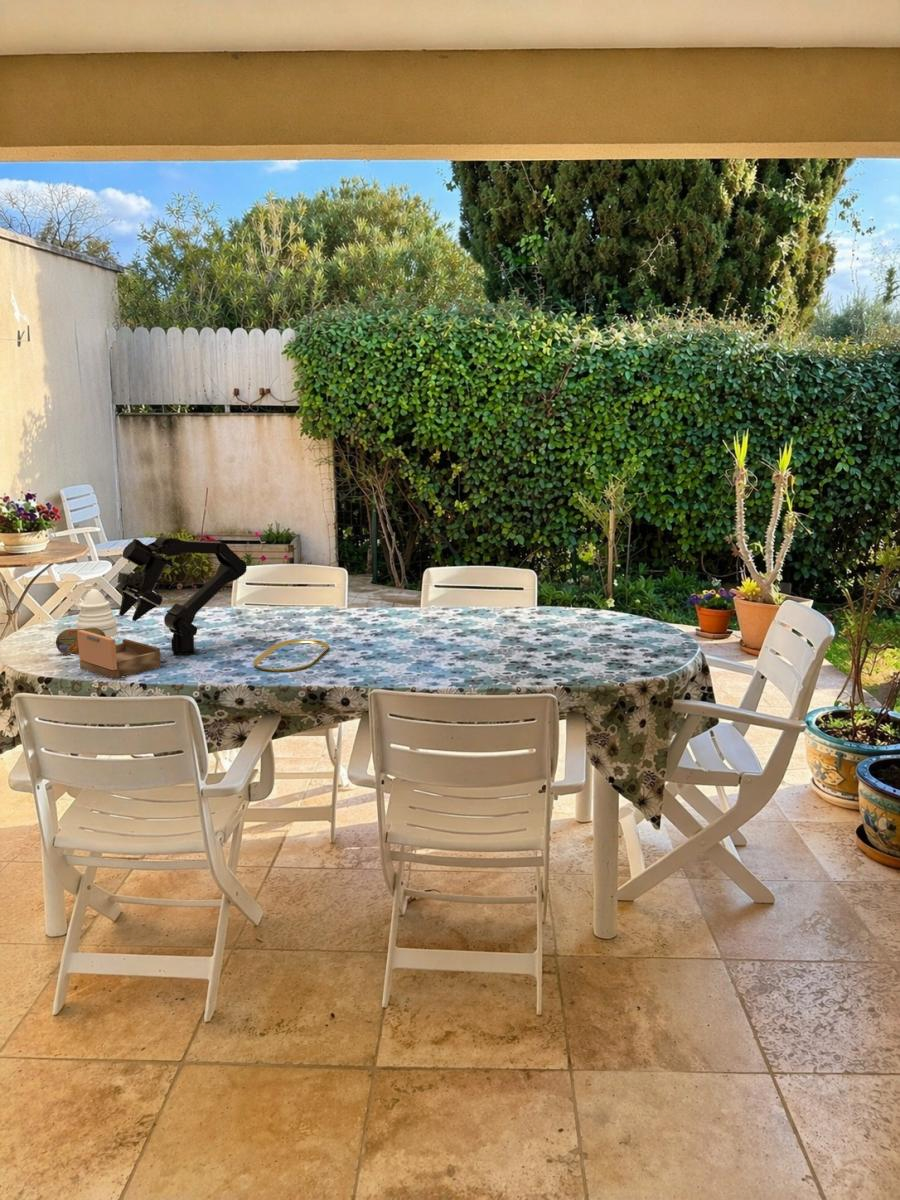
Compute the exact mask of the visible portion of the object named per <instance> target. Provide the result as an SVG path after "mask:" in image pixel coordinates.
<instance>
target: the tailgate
mask: <svg viewBox="0 0 900 1200" xmlns="http://www.w3.org/2000/svg"><path fill="white" fill-rule="evenodd" d="M77 636H78V648H79V655H78V657H79V661H80V660H82V661H85V662H88V663H92V664H95V665H98V666H101V667H104V668H107V669H110V670H116V669H117V658H116V645H115V644H116V639H115V638H109V637H105V636H102V635H98V634H95V633H91V632H88V631H84V630H78V631H77Z"/></svg>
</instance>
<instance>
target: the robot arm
mask: <svg viewBox="0 0 900 1200" xmlns="http://www.w3.org/2000/svg"><path fill="white" fill-rule="evenodd" d="M153 553H154V554H157V555H154V554H153ZM184 554H211V555H212V554H213V555H215V557H216V559H217V561H218V562H219V566H218V567H217V570H216V572H215V575H214V576H212V577H211V578H210V579H209V580H208V581H207V582H206V583H205V584H204V585H203V586H202V587H200V589H199V590H197V591H196V592H195V594H193V595H192V596H191V597H190V598H189V599H188V600H187V601H186V602H185V603H183V604H179V603H177V602H176V603H174V604H173V605H172V606H171V608H170V609H168V610H166V614H165V615H164V616H163V617H164V618H163V623H164V625H165V626H166V627H167V628H168V629H169V632H170V633H172V638H171V640H170V641H171V652H172V653H173V655H174V656H178V655H194V654H195V651H196V647H195V646H196V645H195V636H196V635H197V633H198V627H196V625H194V624H192V623H194V621H195V617H196V614H197V613H198V612H199V611H200V610H201V609H202V608H203V607H205V605H207V604H208V603H209V601H211V600H212V599H213V598H214V597H215V596H216V595H217V594H218V592H220V591H221V590H222V589H223V588H224V587H225V586H226V585H227V584H229V583H232V582H234V581H236V580H238V579H239V578H240V577H242V576H243V575H245V574H246V573H247V568H248V567H247V563H246V561H245V560H244V559H242V558H240V557H239V556H238V555H237V553H235V552H234V551H233V550H231V548H230V547H229V546H228V544H227V543H225V542H223V541H222V542H221V541H219V540H218V541H217V540H215V541H206V540H205V541H201V540H200V541H199V540H182V539H178V538H175V537H169V536H165V535H161V536H158V537H157V538H156V539H154V541H153V542H150V543H148V544H145V543H143V542H142V541H141V540H139V539H137V538H133V539H132V541H131V542H130V543H129V544H127V545H126V546H125V547H124V549H123V551H122V558H123V559H125V560H127V561H129V562H130V563H132V564H134V565H137V566H138V567H142V566H143V568H142V570H138V571H137V572H130V573H127V572H118V577H117V583H118V584H119V583H120V584H119V586H118V590H119V593H120V596H121V601H120V602H121V603H120V608H119V612H118V615H119V616H121V617H123V616H124V615H125V614H126V613H127V612H128V611H129V610H131V608H133V606H134V605H135V604H136V603H137V602H138V603H137V606H136V608H135V611H134V613H133V616H132V619H131V620H132V621H133V622H136V621H138V620H139V619H140V618H142V617H143V616H145V615H146V614H147V613H149V612H150V611H151V610H153V609H155V608H157V607H158V606H161V604H162V603H163V597H162V595H160V594H158V593H156V592H154V590H155V588H156V586H157V584H158V585H160V584H161V580H160V578H161V577H162V575H163V572H164V570H165V569H166V567H170V568H174V566H175V565H174V562H173V559H172V558H170V557H175V556H180V555H184ZM164 556H167V558H166V557H164Z"/></svg>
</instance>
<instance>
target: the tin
mask: <svg viewBox="0 0 900 1200" xmlns="http://www.w3.org/2000/svg"><path fill="white" fill-rule="evenodd" d="M78 630H84V631H88V632H91V633H95V634H98V635H102V636H105V637H106V635H105V634H104V632H103V631H102V630H100V629H98V628H94V627H92V628H79V629H77V628H68V629H65V630H63V631H61V632H60V633H59V634H58V635H57V637H56V639H55V646H56V648H57V650H58V651H59V652H60V654H62V655H65V656H72V655H71V654H79V648H78V636H77V631H78Z"/></svg>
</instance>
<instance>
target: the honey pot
mask: <svg viewBox="0 0 900 1200" xmlns="http://www.w3.org/2000/svg"><path fill="white" fill-rule="evenodd" d="M84 589H85V590H86V591H88V592H87V593H86V595H85V597H84V599H83V601H82V602H79V603H78V607H79V608H80V611H79V612H78V617H77V622H76V629H79V628H92V627H94V628H98V629H100V630H102V631H103V632H104V634H105V635H106V637H109V638H111V637H114V636H116V635H117V636H118V626H117V620H116V618H115V616H114V613H113V610H112V609H111V607H110V604H111V603H110V601H108V600H107V599H106V598H105V596H104V595H103V593H102V592H101V591H100V590H98V589H97V588H93V584H85V585H84ZM117 636H116V637H117ZM114 638H115V637H114Z"/></svg>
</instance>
